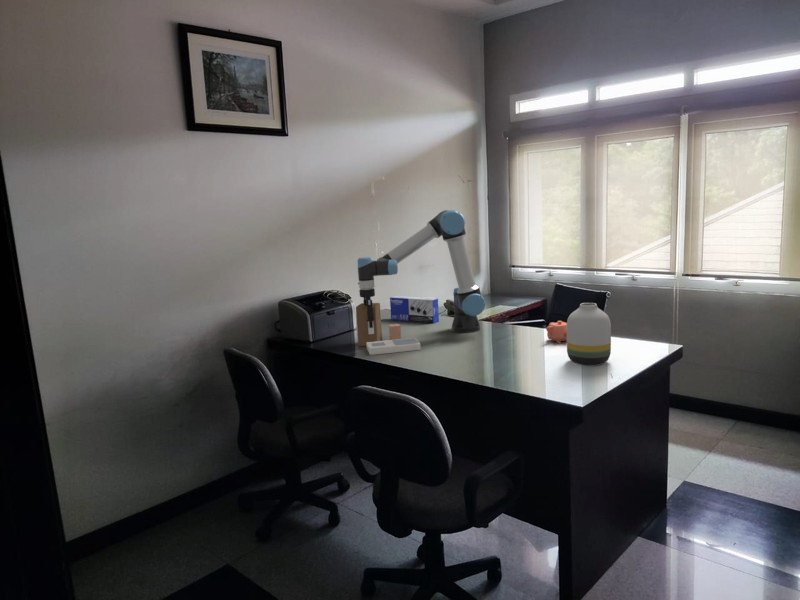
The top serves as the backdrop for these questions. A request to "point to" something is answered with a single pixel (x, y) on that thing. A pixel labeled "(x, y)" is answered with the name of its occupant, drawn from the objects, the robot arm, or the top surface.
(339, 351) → the top surface
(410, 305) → the ink box
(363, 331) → the wooden block
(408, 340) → the foundation board
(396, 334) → the terracotta block
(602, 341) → the vase
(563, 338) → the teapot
